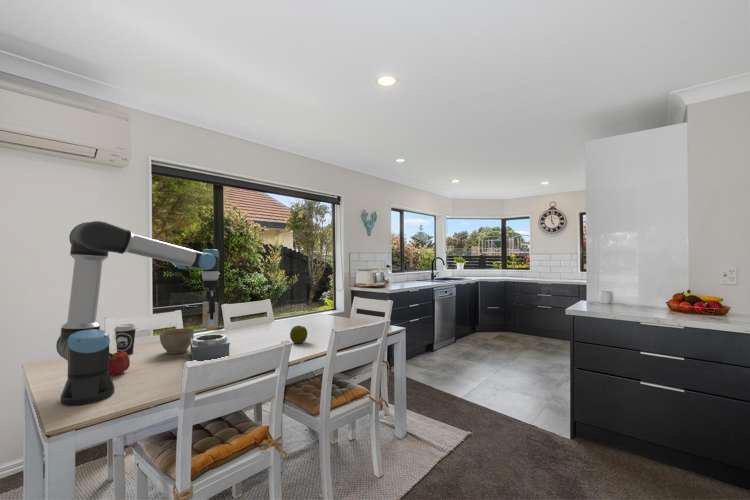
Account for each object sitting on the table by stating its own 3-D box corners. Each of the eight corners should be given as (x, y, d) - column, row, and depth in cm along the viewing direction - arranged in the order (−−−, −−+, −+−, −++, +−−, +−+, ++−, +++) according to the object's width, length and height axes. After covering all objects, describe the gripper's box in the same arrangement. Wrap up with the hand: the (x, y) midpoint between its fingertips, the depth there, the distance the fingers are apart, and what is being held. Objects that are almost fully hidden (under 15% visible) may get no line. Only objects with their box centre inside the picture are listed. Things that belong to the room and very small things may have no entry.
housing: (229, 359, 172) (230, 338, 172) (192, 364, 163) (192, 343, 163) (224, 349, 189) (224, 330, 190) (189, 353, 181) (189, 334, 181)
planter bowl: (185, 346, 195) (185, 326, 195) (199, 351, 186) (200, 330, 186) (153, 352, 182) (153, 332, 182) (167, 358, 172) (167, 336, 173)
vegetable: (101, 380, 142) (101, 356, 142) (96, 374, 149) (96, 351, 149) (132, 373, 150) (133, 350, 151) (126, 368, 157) (127, 346, 158)
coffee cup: (139, 353, 180) (140, 324, 180) (118, 358, 172) (119, 328, 172) (131, 350, 185) (131, 322, 185) (110, 355, 177) (110, 325, 177)
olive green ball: (287, 344, 200) (287, 325, 200) (293, 340, 209) (294, 322, 209) (303, 345, 198) (303, 326, 198) (309, 341, 208) (309, 323, 208)
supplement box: (218, 328, 174) (218, 302, 174) (208, 330, 170) (209, 303, 170) (211, 326, 180) (212, 300, 180) (202, 327, 176) (202, 301, 176)
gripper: (221, 280, 168) (221, 327, 168) (216, 277, 186) (215, 319, 186) (204, 281, 164) (204, 329, 164) (200, 278, 182) (200, 321, 182)
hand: (210, 324), depth 175 cm, fingers closed on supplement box, 9 cm apart
